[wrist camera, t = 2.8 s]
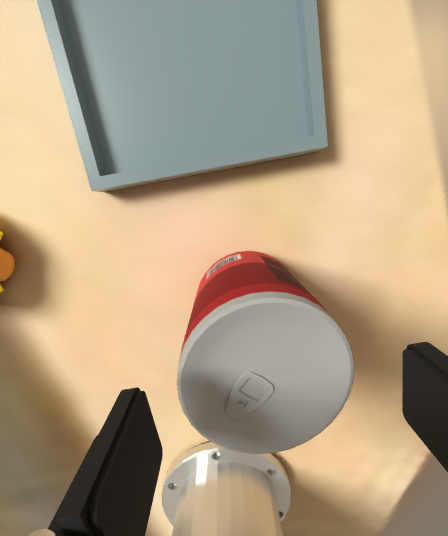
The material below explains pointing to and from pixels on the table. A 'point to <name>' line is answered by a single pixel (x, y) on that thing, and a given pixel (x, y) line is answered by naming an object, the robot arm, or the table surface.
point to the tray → (187, 84)
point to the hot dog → (5, 264)
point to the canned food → (261, 358)
